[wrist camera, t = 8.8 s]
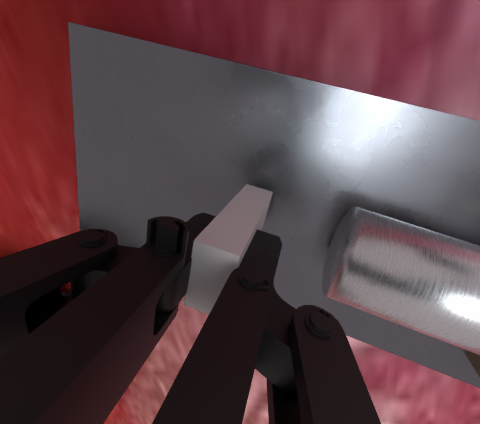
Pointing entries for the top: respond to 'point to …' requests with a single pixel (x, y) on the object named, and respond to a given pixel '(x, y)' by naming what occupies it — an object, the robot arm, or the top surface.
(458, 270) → the tube
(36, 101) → the top surface
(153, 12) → the top surface
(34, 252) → the robot arm
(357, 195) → the plate
